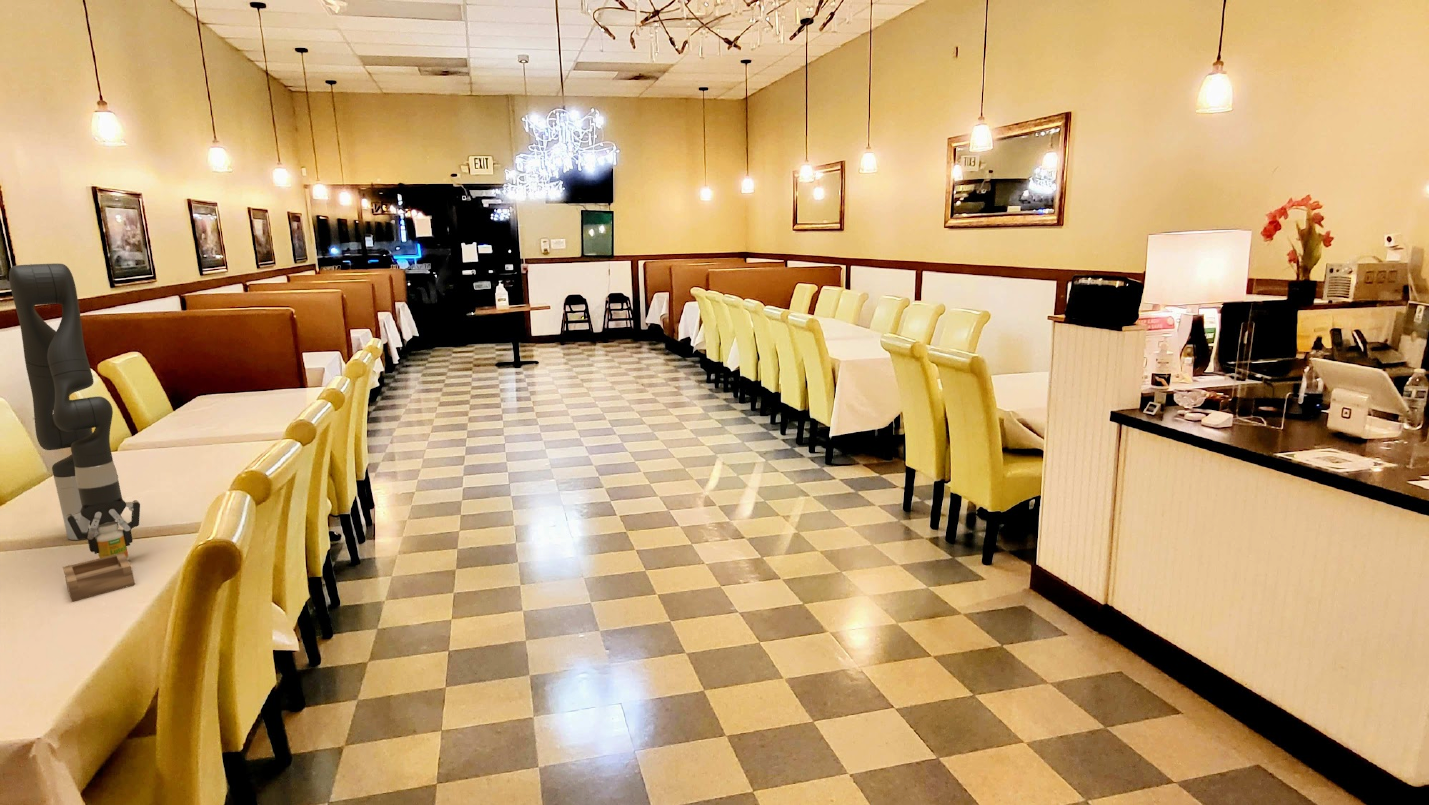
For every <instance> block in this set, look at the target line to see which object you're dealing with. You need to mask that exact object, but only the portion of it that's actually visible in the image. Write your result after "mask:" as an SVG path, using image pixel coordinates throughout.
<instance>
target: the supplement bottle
mask: <svg viewBox="0 0 1429 805" xmlns="http://www.w3.org/2000/svg"><path fill="white" fill-rule="evenodd" d="M119 526H120V525H119V524H118V522H117V521H115V522H107V523H104V524H101V525H98V527H97V531H98V532H99V534H97V535H96V537H95V539H96V543H97V547H98V552H99V553H97V555H98V559H99V558H103V557H107V556H111V555H115V554H119V553H123V552H124V554H125V556H126V558H127V560H128V561H129V553H128V552H129V551H128V548H127V547H128V546H126V542H125V537H124V533H123V529H122V530H121V529H120V527H119Z"/></svg>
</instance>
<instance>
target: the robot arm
mask: <svg viewBox="0 0 1429 805" xmlns="http://www.w3.org/2000/svg"><path fill="white" fill-rule="evenodd" d="M8 277H9V278H8V280H9V285H10V290H11V294H12V299H13V302H14V305H15V306H14V307H15V309H16V310H15V311H16V313H17V317H18V321H19V326H20V334H21V340H22V345H23V356H24V361H25V362H24V363H25V367H26V368H25V369H26V374H27V378H28V381H29V386H30V391H31V395H32V403H33V404H32V406H33V415H34V416H33V417H34V418H33V419H34V428H35V435H36V438H37V442H38V445H39V446H40V447H41V448H42V449H43V450H45V451H56V450H61V449H62V450H63V449H68V448H70V452H71V454H70V455H69V456H67V457H65V458H63V459H61V460H58V461H57V462H55V463H54V464H52V468H51V471H52V475H53V478H54V484H55V487H56V493H57V496H58V500H59V501H58V502H59V505H60V511H61V514H62V519H63V523H64V528H65V532H66V536H67V539H68V540H73V541H80V540H87V544H88V548H89V551H90V553H94V555H98V553H99V552H98V547H97V543H96V539H95V537H96V535H97V534H99V532H98V531H97V527H98V525H101V524H104V523H107V522H115V521H116V522H118V526H120V527H121V528H122V531H123V533H124V537H125V542H126V547H130V546H131V543H133V540H134V539H133V536H132V529H133V528H136V527H138V526H139V525H140V512H141V503H140V502H139V501H138V500H133V501H125V500H124V499H123V496H122V491H121V487H120V483H119V481H120V480H119V475H118V472H117V469H116V468H117V467H116V465H115V462H114V459H113V454H112V450H111V443H110V438H111V437H110V434H111V426H112V421H113V413H114V411H113V406H112V403H111V402H110V401H109V400H108V399H107V398H106V397H103V396H92V397H91V396H90V397H83V398H77V399H70V396H71V395H72V394H74V393H77V392H79V391H82V390H83V391H84V390H85V389H88V388H90V387H92V386H93V385H94V377H93V376H94V375H93V372H92V370H91V365H90V363H89V358H88V356H87V352H86V351H87V350H86V347H85V342H84V334H83V325H82V319H81V312H80V311H81V310H80V305H79V304H80V303H79V299H78V294H77V293H78V292H77V287H76V284H75V279H74V276H73V274H72V271H71V270H70V269H69V267H68V266H67V265H66V264H64V263H34V264H32V263H29V264H18V265H17V264H16V265H13V266H12V267H11V268H10V269H9V272H8ZM55 304H59V305H61V310H62V313H61V314H62V315H61V320H60V322H59V325H58V328H57V330H55V329H53V328H52V327H51V326H50V324H48V323H47V322H46V321H45V320H44V319H43V318H42V316H41V315H39V313H38V311H37V310H36V309H35V306H43V305H55ZM93 428H94V430H93ZM126 508H128V510H129V511H130V512H131V521H129V522H127V521H126V520H125V519H124V517H123V516H122V514H123V512H124V511H125V509H126Z"/></svg>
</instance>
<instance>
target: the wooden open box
mask: <svg viewBox="0 0 1429 805" xmlns="http://www.w3.org/2000/svg"><path fill="white" fill-rule="evenodd" d="M62 569H63V574H64V578H65V583H66V586H67V590H68V593H69V597H70V600H71V602H75V601H80V600H83V599H86V598H90V597H94V596H98V595H101V594H105V592H106V593H109V592H112V590H113V591H116V590H115V589H117V590H120V588H121V589H124V588H127V587H126V586H128V587H130V586H131V585H132V586H134V585H133V584H136V583H135V579H134V574H133V569H132V565H131V563H130V562H129V559H128V560H127V558H126V556H125V554H124V552H123V553H119V554H115V555H111V556H107V557H103V558H99V557H98V558H96V559H91V560H87V561H83V562H79V563H75V564H71V565H68V566H67V565H66V566H62ZM132 586H131V587H132ZM123 587H124V588H123ZM108 591H109V592H108Z"/></svg>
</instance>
